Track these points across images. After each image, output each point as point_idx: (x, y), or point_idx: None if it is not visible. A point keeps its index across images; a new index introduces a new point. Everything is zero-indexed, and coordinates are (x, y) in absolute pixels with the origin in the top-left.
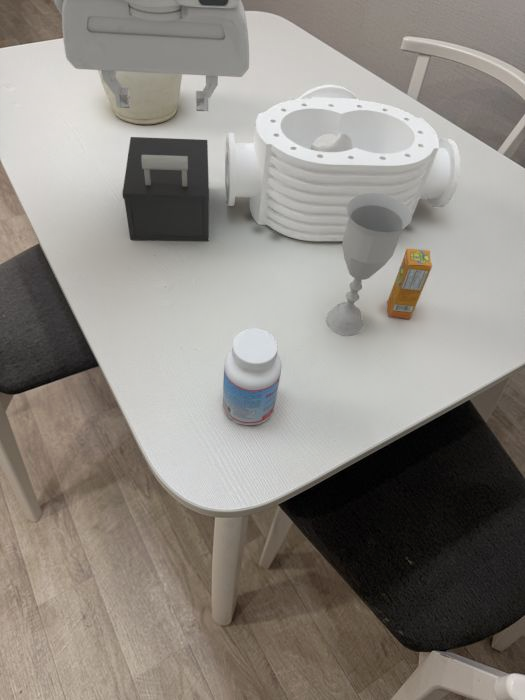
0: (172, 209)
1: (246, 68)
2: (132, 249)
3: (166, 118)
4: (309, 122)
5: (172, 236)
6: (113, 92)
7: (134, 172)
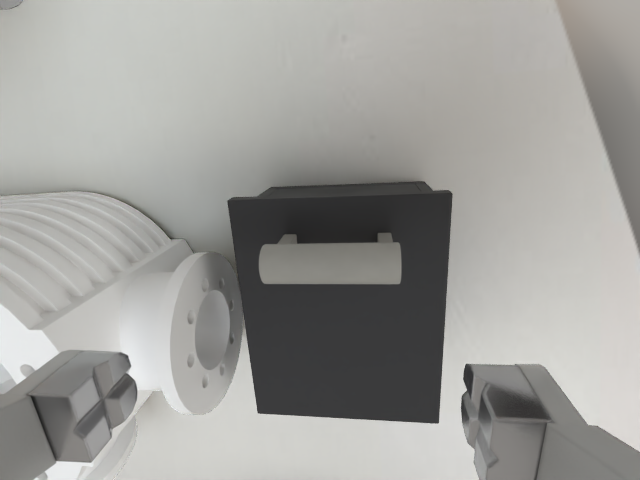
0: None
1: None
2: (419, 153)
3: None
4: None
5: (338, 186)
6: (605, 433)
7: (423, 286)
